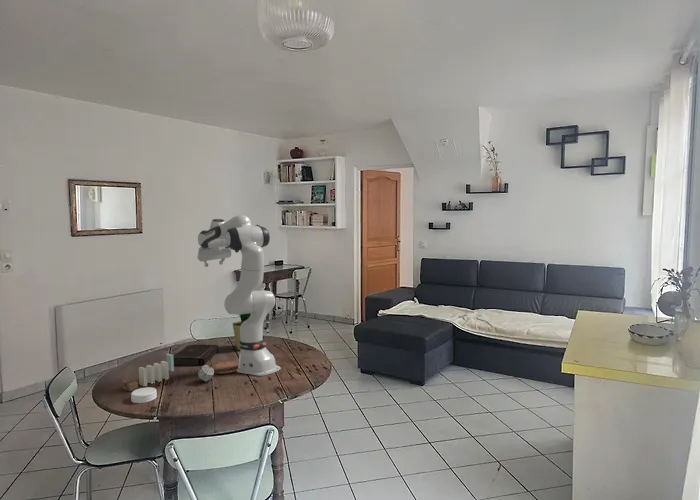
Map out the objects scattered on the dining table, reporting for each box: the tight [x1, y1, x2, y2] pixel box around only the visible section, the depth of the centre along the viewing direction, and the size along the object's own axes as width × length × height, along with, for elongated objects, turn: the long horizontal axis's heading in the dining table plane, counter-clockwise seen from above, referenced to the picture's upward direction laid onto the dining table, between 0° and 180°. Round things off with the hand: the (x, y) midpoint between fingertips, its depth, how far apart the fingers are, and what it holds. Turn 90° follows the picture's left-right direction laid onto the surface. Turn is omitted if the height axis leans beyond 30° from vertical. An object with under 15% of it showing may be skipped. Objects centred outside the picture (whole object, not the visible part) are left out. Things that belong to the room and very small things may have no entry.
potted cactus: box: [232, 313, 251, 351], centre depth 271 cm, size 15×15×30 cm
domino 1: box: [138, 366, 148, 387], centre depth 213 cm, size 4×1×8 cm, turn 52°
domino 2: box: [145, 364, 156, 385], centre depth 215 cm, size 4×1×8 cm, turn 52°
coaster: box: [130, 386, 158, 404], centre depth 196 cm, size 10×10×4 cm
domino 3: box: [153, 362, 163, 383], centre depth 218 cm, size 4×1×8 cm, turn 52°
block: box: [122, 379, 139, 393], centre depth 208 cm, size 7×4×3 cm, turn 52°
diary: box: [172, 343, 219, 367], centre depth 252 cm, size 19×25×5 cm
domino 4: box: [160, 360, 170, 380], centre depth 221 cm, size 4×1×8 cm, turn 52°
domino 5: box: [165, 353, 175, 372], centre depth 233 cm, size 4×1×8 cm, turn 52°
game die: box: [196, 363, 216, 384], centre depth 216 cm, size 9×8×10 cm
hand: (213, 265), depth 277 cm, fingers open, 8 cm apart
